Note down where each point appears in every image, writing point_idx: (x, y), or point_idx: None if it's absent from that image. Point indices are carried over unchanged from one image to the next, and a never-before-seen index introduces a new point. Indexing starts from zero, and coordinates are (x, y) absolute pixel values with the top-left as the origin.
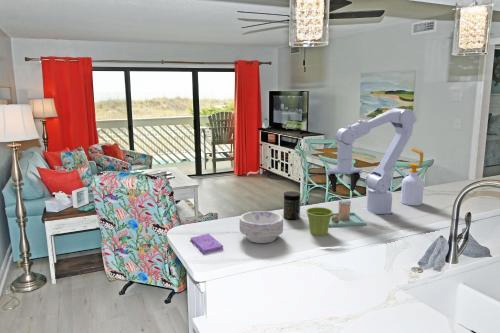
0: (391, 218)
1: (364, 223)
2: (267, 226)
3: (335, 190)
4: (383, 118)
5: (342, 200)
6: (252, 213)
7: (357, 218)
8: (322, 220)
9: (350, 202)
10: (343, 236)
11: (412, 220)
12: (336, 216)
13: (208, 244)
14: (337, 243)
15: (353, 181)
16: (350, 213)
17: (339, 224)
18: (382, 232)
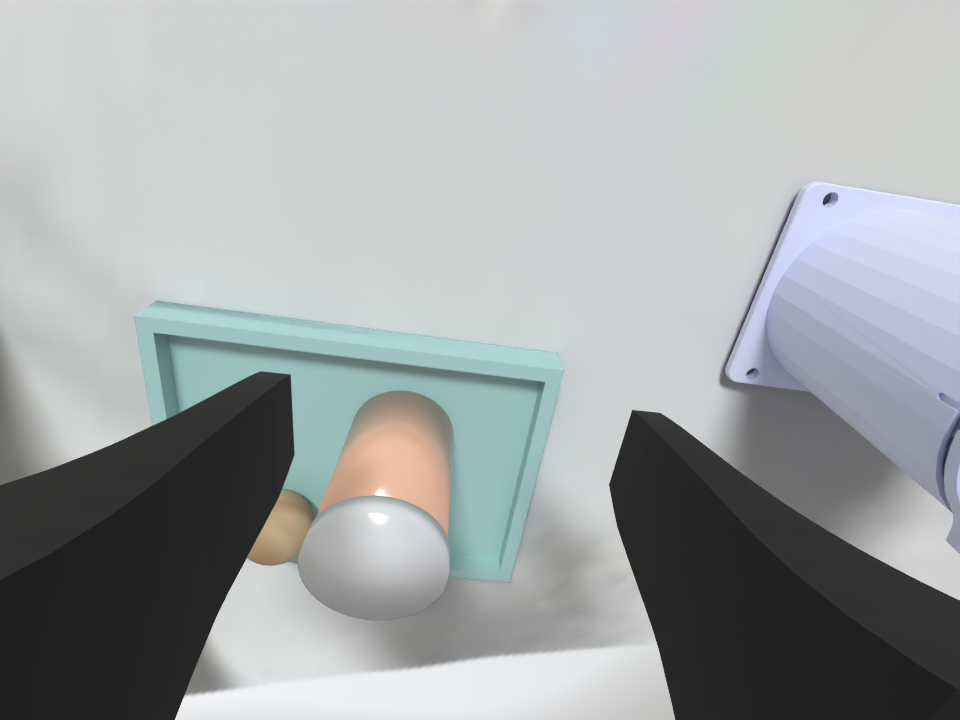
0: (809, 483)
1: (495, 574)
2: None
3: (270, 486)
4: None
5: (358, 543)
6: None
7: (522, 456)
8: None
9: (427, 604)
10: (278, 640)
11: (908, 546)
12: (264, 564)
13: None
14: (212, 691)
15: (683, 681)
16: (515, 373)
17: (295, 557)
18: (543, 643)
